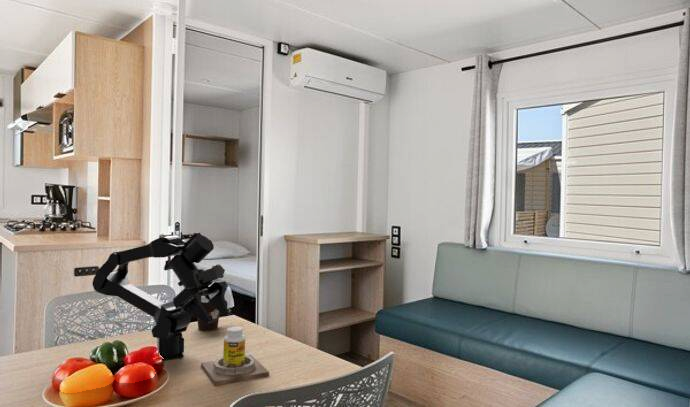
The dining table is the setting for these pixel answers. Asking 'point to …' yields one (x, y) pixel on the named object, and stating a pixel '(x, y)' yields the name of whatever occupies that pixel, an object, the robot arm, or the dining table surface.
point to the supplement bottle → (234, 348)
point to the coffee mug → (212, 314)
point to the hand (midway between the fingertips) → (218, 318)
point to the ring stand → (233, 371)
